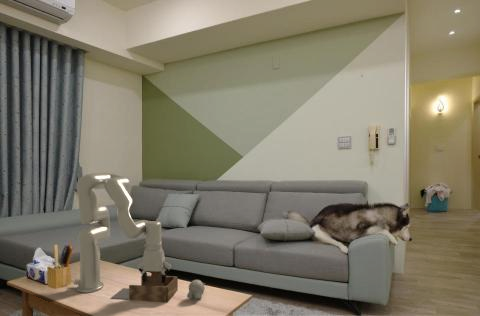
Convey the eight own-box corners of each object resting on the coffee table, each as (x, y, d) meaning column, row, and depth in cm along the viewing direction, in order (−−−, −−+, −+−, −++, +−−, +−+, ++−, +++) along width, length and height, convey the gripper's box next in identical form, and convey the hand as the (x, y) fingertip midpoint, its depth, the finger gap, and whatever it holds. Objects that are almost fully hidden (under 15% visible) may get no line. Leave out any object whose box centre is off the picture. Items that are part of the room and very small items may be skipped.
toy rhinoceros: (208, 300, 157) (211, 281, 160) (197, 300, 147) (201, 280, 150) (195, 297, 160) (198, 279, 163) (184, 297, 149) (187, 278, 152)
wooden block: (150, 299, 152) (150, 261, 152) (143, 297, 155) (143, 260, 155) (164, 293, 160) (163, 256, 160) (157, 291, 162) (157, 255, 162)
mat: (110, 298, 154) (110, 298, 154) (123, 288, 166) (123, 288, 166) (128, 299, 153) (128, 298, 153) (139, 289, 165) (139, 288, 165)
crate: (129, 300, 152) (129, 285, 152) (142, 288, 166) (142, 275, 166) (167, 302, 149) (167, 287, 149) (177, 290, 163) (177, 276, 163)
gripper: (133, 248, 155) (134, 284, 155) (168, 249, 153) (168, 285, 152) (140, 244, 162) (141, 278, 162) (173, 245, 160) (173, 279, 160)
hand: (154, 282), depth 157 cm, fingers open, 9 cm apart
